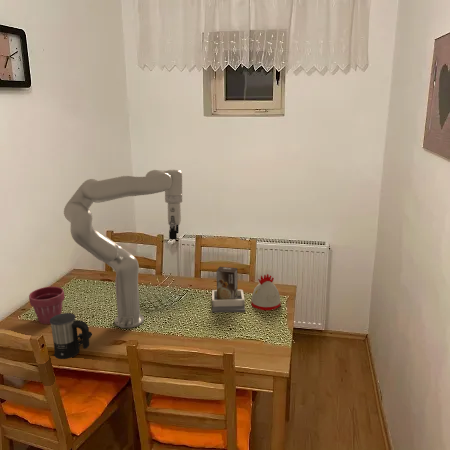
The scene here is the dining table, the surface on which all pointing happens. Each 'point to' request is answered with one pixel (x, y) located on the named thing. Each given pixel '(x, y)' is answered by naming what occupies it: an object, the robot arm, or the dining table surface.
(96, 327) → the dining table surface
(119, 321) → the robot arm
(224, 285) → the coffee box
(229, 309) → the dock
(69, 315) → the milk frother
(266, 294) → the grey red beanie hat
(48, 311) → the plant pot
